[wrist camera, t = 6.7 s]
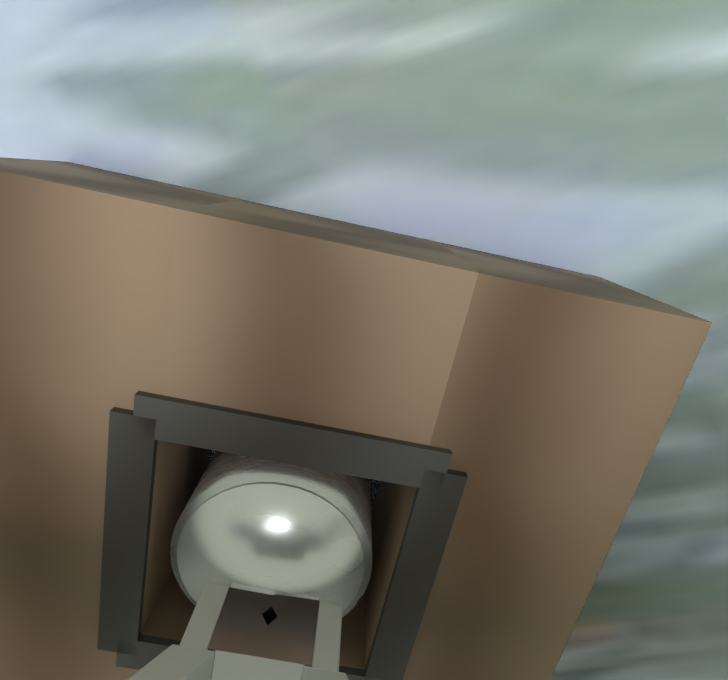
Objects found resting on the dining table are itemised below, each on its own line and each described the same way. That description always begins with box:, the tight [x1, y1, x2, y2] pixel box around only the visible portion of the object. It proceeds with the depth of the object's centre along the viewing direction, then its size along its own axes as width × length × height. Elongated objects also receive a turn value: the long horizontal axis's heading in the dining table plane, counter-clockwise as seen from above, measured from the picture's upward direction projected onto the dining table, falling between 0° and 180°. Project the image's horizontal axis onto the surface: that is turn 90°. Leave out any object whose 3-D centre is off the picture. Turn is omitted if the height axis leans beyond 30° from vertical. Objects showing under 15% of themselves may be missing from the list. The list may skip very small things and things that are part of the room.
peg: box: [170, 451, 372, 617], centre depth 14 cm, size 5×5×5 cm
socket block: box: [0, 158, 712, 680], centre depth 14 cm, size 16×16×5 cm
